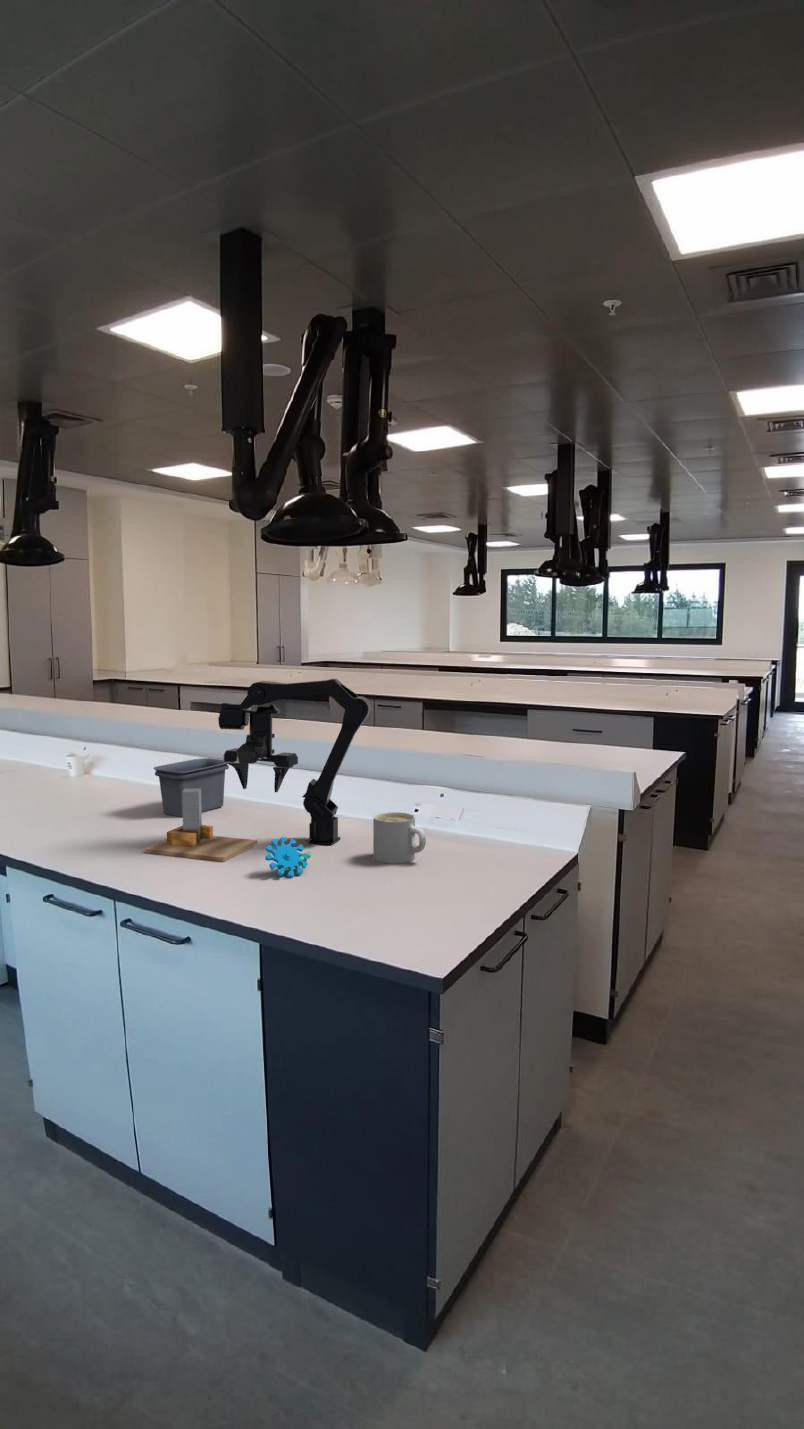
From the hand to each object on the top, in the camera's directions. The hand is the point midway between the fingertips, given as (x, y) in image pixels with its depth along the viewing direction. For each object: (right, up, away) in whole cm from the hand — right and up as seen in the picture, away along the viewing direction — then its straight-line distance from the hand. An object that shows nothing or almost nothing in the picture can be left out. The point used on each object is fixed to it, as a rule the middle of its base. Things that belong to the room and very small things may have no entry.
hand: (260, 790), depth 195 cm
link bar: (-16, -12, -4) cm, 21 cm away
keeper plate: (-13, -14, -7) cm, 20 cm away
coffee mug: (+36, -15, -14) cm, 41 cm away
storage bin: (-27, -10, +33) cm, 44 cm away
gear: (+11, -16, -25) cm, 32 cm away
